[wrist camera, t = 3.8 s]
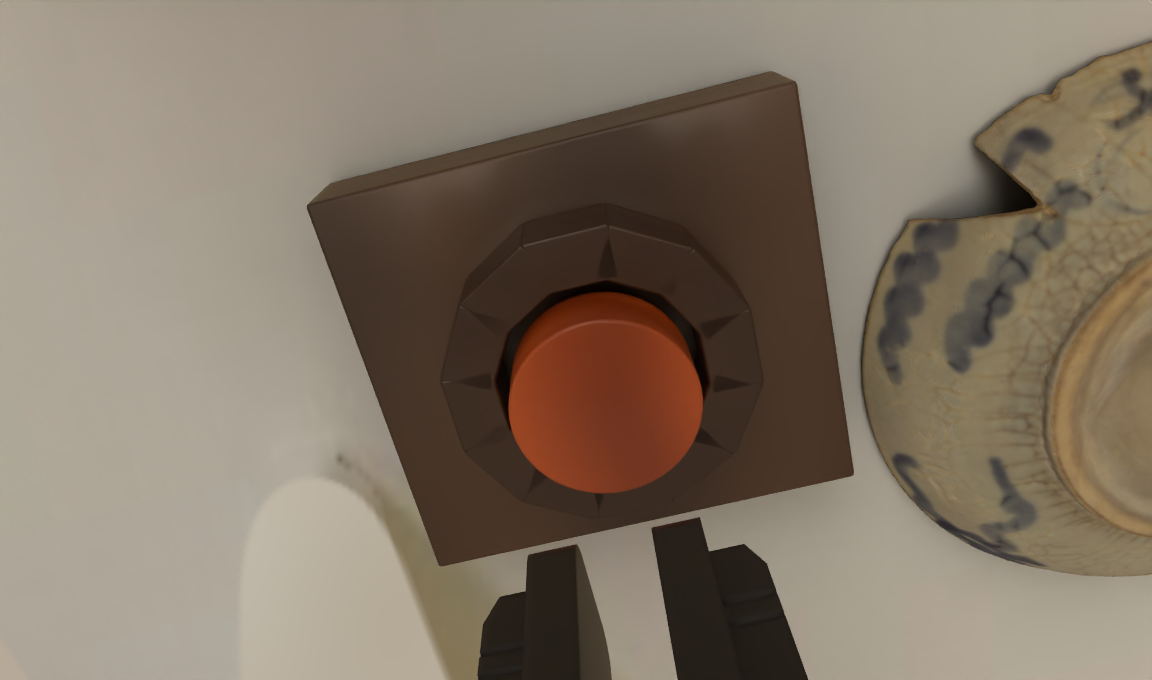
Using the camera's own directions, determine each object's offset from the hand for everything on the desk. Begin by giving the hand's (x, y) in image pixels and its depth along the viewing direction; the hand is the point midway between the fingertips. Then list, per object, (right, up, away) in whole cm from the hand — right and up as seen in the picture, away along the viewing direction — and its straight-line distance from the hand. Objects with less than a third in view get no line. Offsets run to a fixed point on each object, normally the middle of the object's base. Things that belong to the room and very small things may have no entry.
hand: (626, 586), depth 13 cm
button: (0, +3, +7) cm, 7 cm away
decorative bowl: (+14, +4, +11) cm, 18 cm away
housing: (0, +4, +10) cm, 11 cm away
